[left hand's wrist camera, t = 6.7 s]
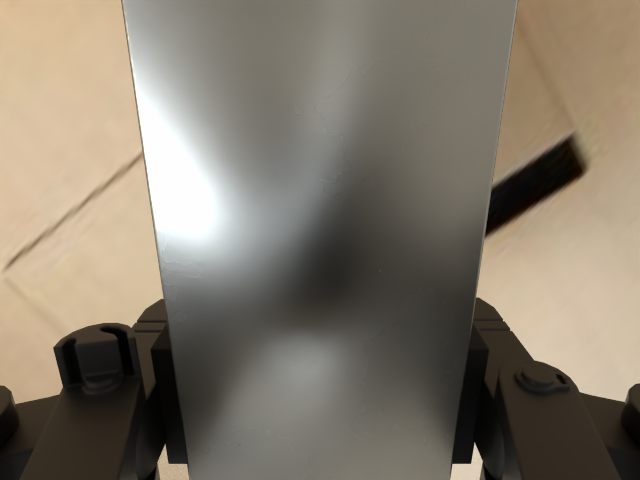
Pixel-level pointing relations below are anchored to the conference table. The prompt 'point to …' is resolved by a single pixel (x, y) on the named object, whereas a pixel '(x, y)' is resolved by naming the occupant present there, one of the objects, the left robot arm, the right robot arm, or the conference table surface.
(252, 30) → the bar
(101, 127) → the conference table surface
